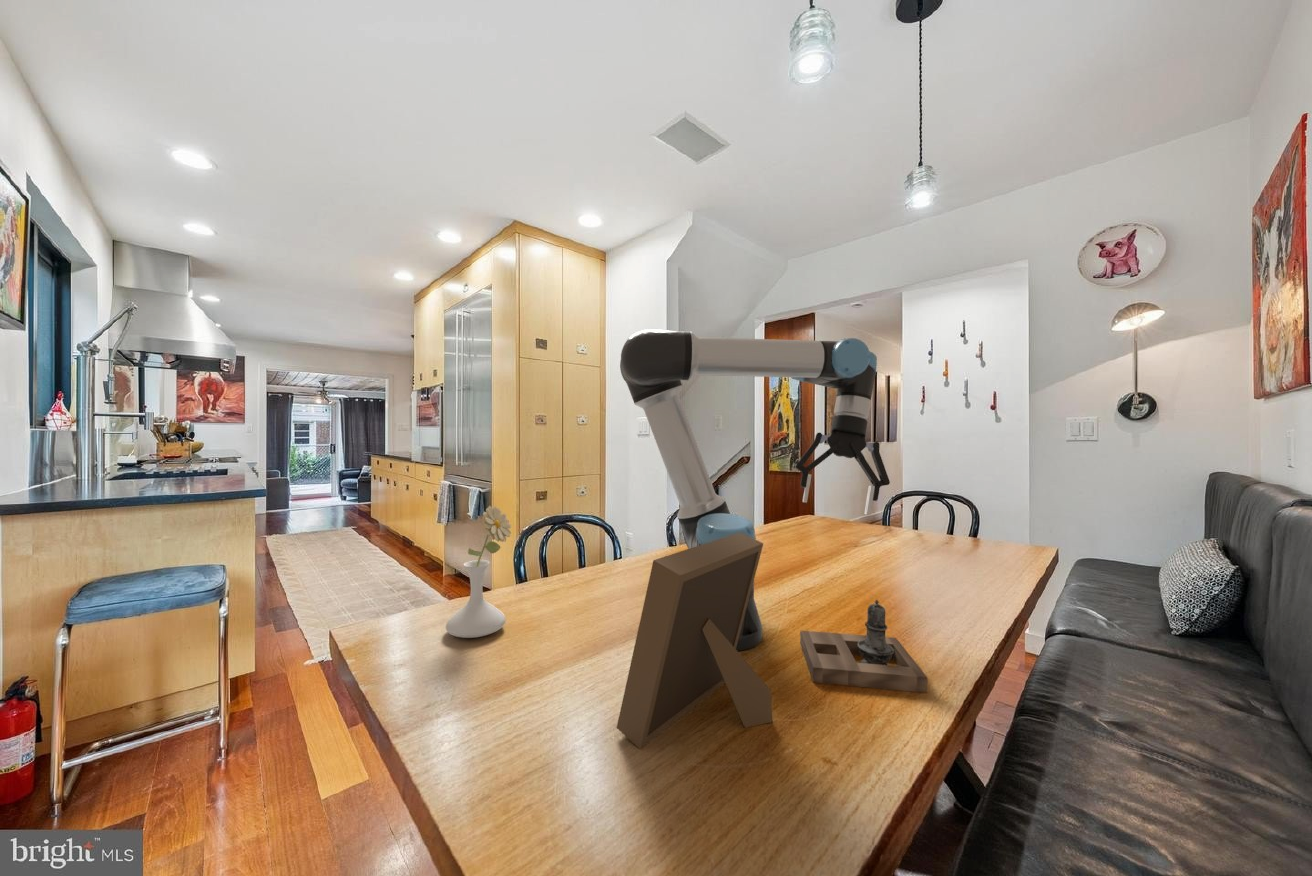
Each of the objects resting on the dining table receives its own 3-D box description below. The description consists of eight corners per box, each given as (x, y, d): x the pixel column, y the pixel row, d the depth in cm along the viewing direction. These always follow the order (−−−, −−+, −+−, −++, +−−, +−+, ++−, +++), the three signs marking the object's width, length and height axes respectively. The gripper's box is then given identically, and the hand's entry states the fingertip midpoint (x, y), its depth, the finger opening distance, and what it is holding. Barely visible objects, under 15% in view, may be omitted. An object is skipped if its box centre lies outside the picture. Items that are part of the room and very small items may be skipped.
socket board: (812, 682, 79) (813, 667, 79) (800, 643, 93) (800, 630, 93) (926, 692, 76) (927, 677, 76) (895, 650, 90) (896, 637, 90)
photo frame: (616, 735, 65) (621, 551, 64) (705, 672, 81) (710, 526, 81) (708, 791, 55) (715, 576, 54) (788, 707, 72) (794, 542, 71)
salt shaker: (900, 676, 81) (901, 606, 81) (865, 675, 81) (866, 605, 81) (884, 659, 87) (886, 594, 87) (851, 658, 87) (853, 593, 87)
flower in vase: (466, 649, 89) (466, 515, 88) (434, 633, 95) (434, 508, 95) (524, 626, 99) (525, 506, 98) (491, 613, 106) (492, 500, 105)
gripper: (903, 428, 111) (889, 519, 109) (793, 411, 117) (778, 497, 115) (914, 423, 104) (899, 520, 102) (796, 405, 109) (780, 497, 108)
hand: (835, 508), depth 108 cm, fingers open, 13 cm apart
